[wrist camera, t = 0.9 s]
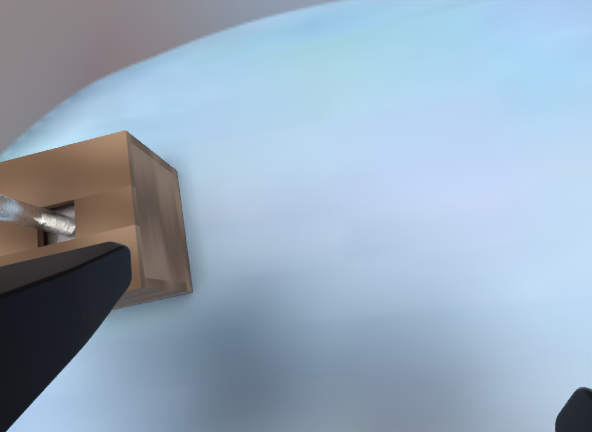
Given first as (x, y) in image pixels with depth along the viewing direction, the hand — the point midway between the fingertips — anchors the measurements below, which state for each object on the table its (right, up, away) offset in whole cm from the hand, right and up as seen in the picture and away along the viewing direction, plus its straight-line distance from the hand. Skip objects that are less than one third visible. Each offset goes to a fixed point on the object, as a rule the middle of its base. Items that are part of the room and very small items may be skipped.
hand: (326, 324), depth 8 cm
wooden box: (-12, 0, +17) cm, 20 cm away
